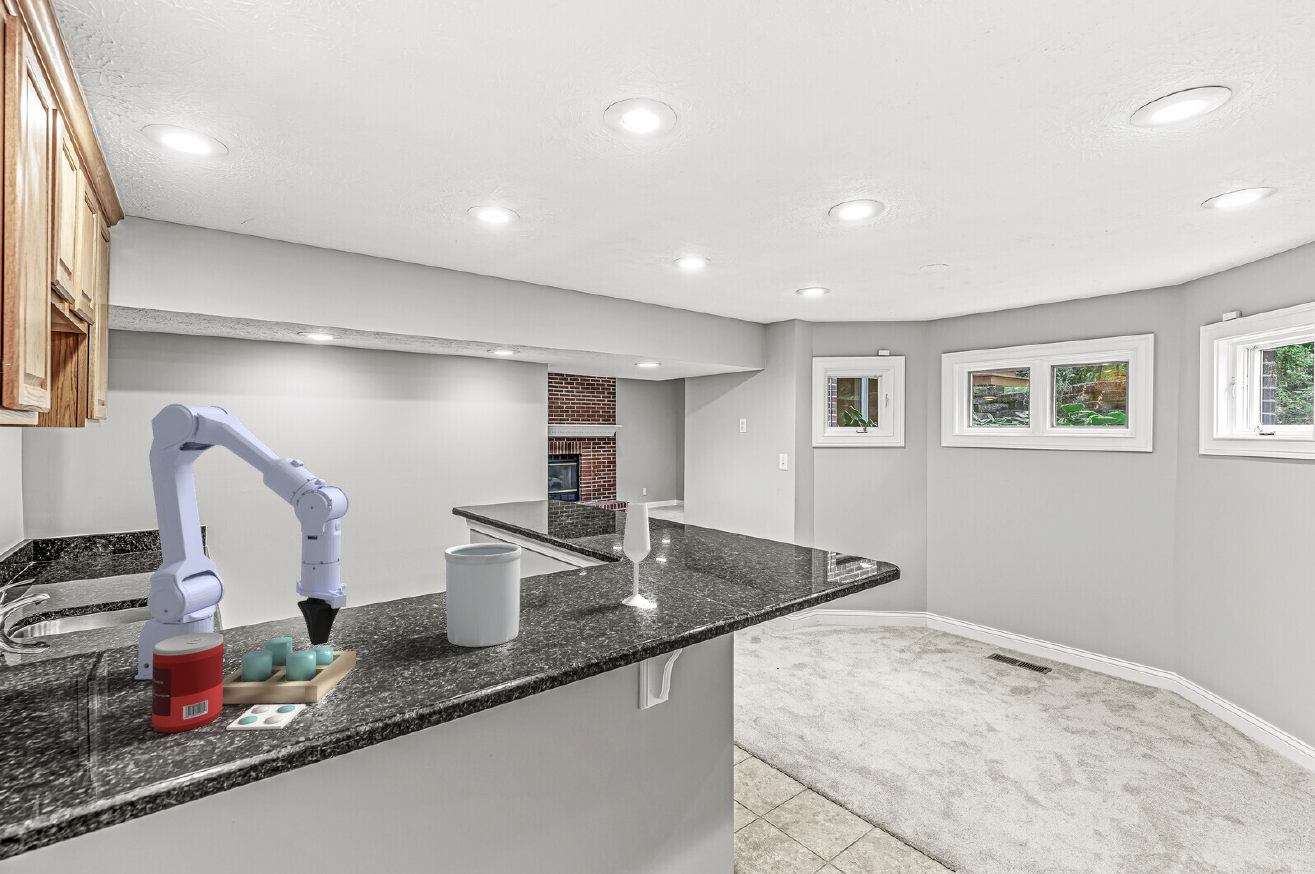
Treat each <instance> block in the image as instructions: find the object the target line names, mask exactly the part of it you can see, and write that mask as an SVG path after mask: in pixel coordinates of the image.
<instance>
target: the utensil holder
mask: <svg viewBox="0 0 1315 874" xmlns="http://www.w3.org/2000/svg"><path fill="white" fill-rule="evenodd" d="M522 554H523V553H522V546H520V545H518V544H515V543H514V544H513V543H507V542H506V543H505V542H477V543H467V544H462V545H456V546H452V547H449V548H447V549H445V551H444V558H445V560H446V561H445V563H446V564H445V568H446V569H445V571H446V573H445V580H446V581H445V585H446V586H445V589H446V590H445V592H446V596H445V600H446V601H445V602H446V603H445V605H446V606H445V607H446V632H447V633H446V635H447V640H448V642H449V643H451V644H452V645H456V646H461V647H469V648H479V647H481V648H483V647H490V646H497V645H500V644H501V645H502V644H505V643H508V642H510V641H512V640H515V638H517V637H518V635H519V631H520V629H519V627H520V626H519V625H520V607H521V606H520V605H521V604H520V603H521V600H520V599H521V598H520V597H521V594H520V593H521V556H522Z"/></svg>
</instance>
